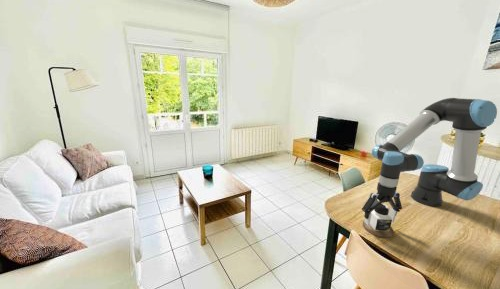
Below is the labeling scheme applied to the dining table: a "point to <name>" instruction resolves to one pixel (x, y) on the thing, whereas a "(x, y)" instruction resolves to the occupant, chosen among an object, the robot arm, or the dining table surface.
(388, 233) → the walnut coaster
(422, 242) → the dining table surface
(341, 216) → the dining table surface
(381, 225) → the medicine bottle
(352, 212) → the dining table surface
